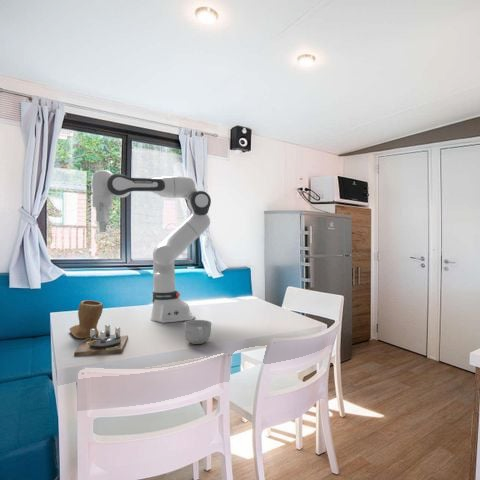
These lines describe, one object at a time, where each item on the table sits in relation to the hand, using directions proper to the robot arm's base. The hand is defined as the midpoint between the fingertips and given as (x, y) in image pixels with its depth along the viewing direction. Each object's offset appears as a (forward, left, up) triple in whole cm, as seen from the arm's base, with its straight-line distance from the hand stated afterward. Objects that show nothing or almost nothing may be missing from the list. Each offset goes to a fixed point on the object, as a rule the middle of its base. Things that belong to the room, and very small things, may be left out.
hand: (102, 231), depth 162 cm
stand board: (-7, +38, -45) cm, 59 cm away
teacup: (-43, +41, -45) cm, 75 cm away
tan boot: (+3, +20, -45) cm, 50 cm away
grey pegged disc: (-8, +39, -44) cm, 59 cm away
